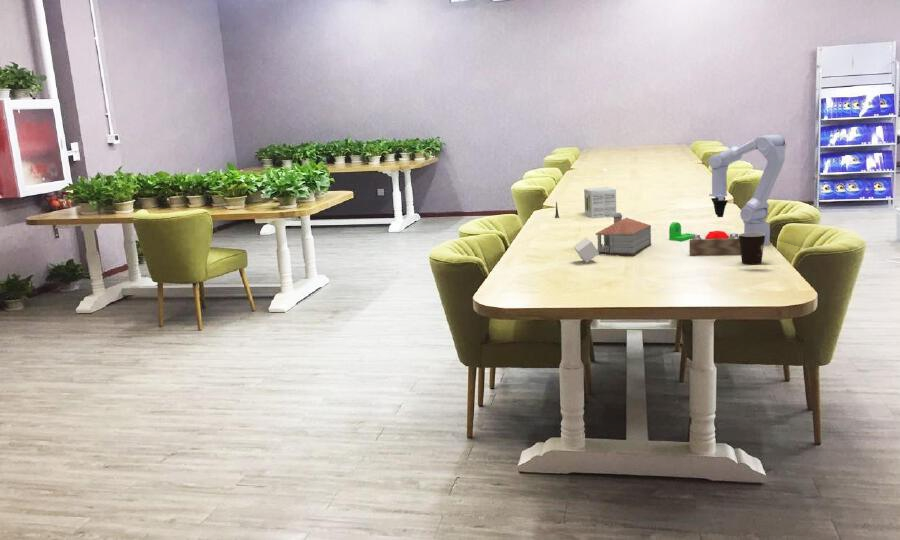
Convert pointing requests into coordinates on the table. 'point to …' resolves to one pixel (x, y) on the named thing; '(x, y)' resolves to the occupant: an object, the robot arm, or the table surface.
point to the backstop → (715, 247)
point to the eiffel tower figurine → (556, 211)
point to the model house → (624, 237)
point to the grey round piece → (700, 238)
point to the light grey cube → (586, 250)
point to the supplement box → (600, 202)
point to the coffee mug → (751, 247)
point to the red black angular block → (717, 235)
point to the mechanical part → (678, 233)
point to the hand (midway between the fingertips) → (719, 215)
